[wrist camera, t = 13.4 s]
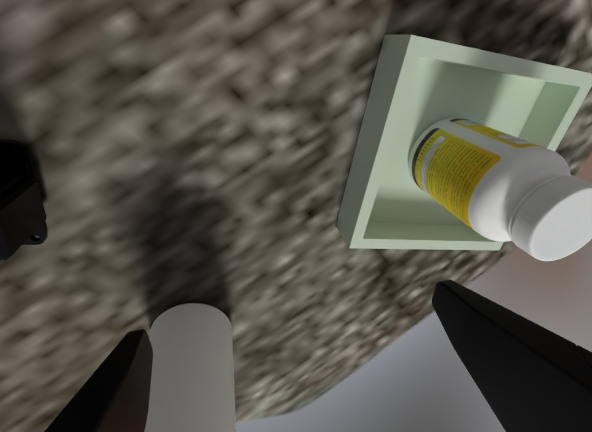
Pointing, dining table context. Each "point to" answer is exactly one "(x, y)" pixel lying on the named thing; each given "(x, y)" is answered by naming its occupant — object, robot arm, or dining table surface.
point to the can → (191, 371)
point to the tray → (427, 111)
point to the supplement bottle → (504, 187)
